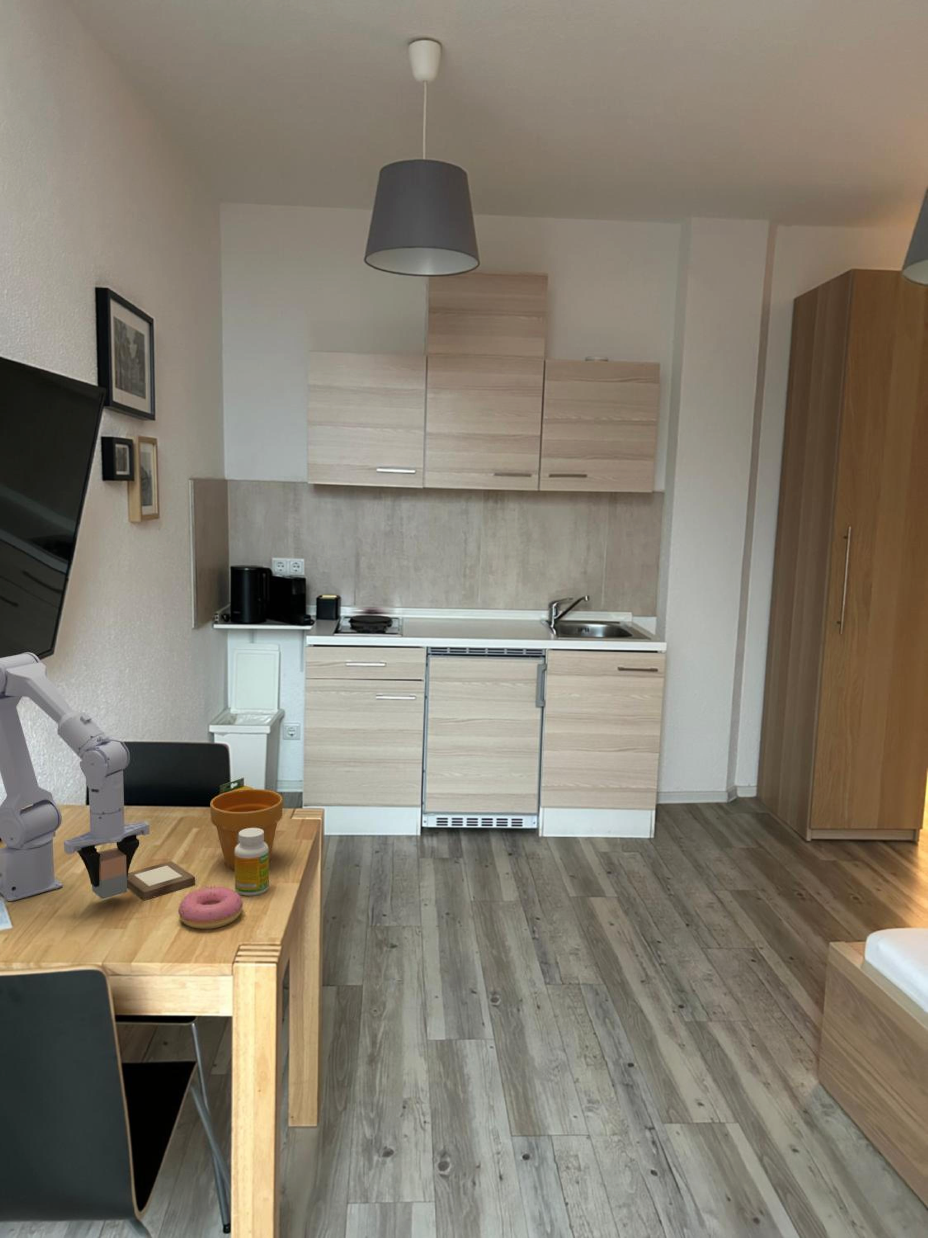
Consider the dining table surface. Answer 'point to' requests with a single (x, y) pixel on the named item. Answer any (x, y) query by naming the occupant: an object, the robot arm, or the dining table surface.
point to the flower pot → (245, 817)
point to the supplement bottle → (251, 863)
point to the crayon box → (238, 787)
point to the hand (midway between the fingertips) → (109, 881)
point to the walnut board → (159, 880)
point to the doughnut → (210, 907)
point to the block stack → (111, 874)
